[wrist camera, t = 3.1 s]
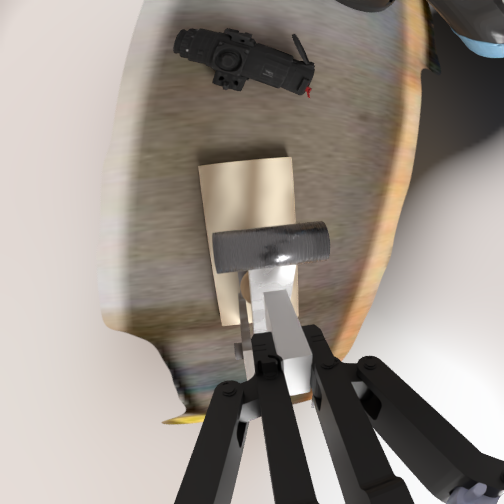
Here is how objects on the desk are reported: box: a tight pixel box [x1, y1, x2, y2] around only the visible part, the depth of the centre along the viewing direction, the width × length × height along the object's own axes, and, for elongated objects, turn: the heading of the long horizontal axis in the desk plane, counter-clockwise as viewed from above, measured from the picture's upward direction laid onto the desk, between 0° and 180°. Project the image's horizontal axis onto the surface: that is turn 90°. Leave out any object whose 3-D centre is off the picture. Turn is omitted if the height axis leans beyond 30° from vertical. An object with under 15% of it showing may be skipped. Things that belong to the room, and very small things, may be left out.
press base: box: [198, 157, 298, 381], centre depth 33 cm, size 12×24×15 cm, turn 5°
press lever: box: [212, 221, 330, 334], centre depth 24 cm, size 7×21×3 cm, turn 5°
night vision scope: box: [173, 28, 315, 98], centre depth 27 cm, size 8×18×10 cm
